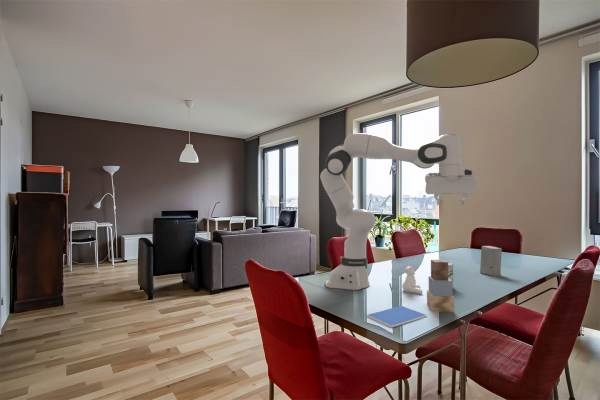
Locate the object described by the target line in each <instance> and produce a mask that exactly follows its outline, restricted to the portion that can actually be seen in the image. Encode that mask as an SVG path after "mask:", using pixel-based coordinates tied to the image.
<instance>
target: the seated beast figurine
mask: <svg viewBox="0 0 600 400" xmlns="http://www.w3.org/2000/svg"><path fill="white" fill-rule="evenodd" d="M404 271H405V274H406V277H405V280H404V281H403V283H402V290H403V291H405V292H406V293H411V294H416V295H423V290H422V289H421V285H419V284H417V282H416V278H415V275H416V273H415V268H413V267H412V265H408V266H406V267H405V268H404Z"/></svg>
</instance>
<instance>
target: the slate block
mask: <svg viewBox="0 0 600 400" xmlns="http://www.w3.org/2000/svg"><path fill="white" fill-rule="evenodd" d="M428 290H429V292H430V293H431V294H432V295H433V296H449V297H454V296H453V295H454V294H453V291H454V290H453V288H452V280H450V279H449V278H448V280H434V279H433V278H432V277H431V275H428Z"/></svg>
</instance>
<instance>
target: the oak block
mask: <svg viewBox="0 0 600 400" xmlns="http://www.w3.org/2000/svg"><path fill="white" fill-rule="evenodd" d="M426 305H427V306H428V307H429V309H430V310H431V312H440V313H441V312H442V313H443V312H444V313H455V296H453V297H449V296H433V295H432V294H431V293H430V292H429V289H427V290H426Z"/></svg>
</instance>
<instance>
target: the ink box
mask: <svg viewBox="0 0 600 400" xmlns="http://www.w3.org/2000/svg"><path fill="white" fill-rule="evenodd" d="M448 278H449V279H450V280H452V289H453V288H454V263H449V262H448Z"/></svg>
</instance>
